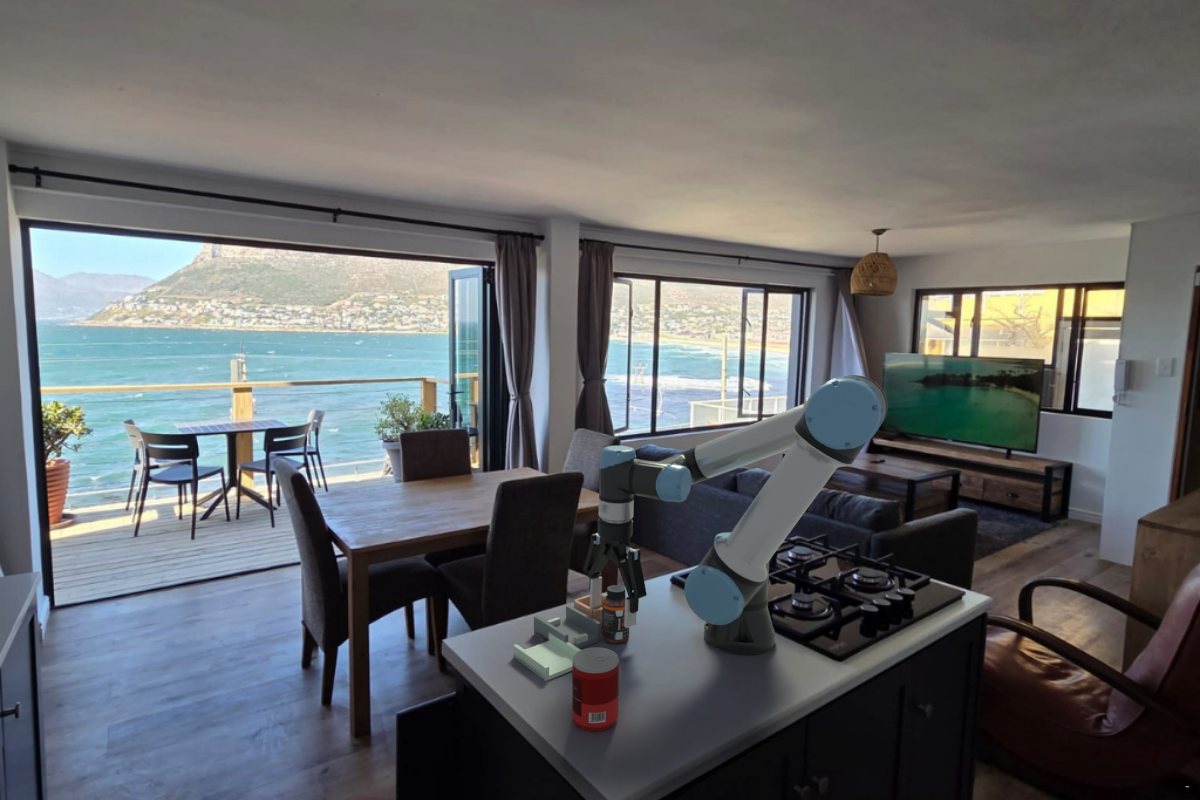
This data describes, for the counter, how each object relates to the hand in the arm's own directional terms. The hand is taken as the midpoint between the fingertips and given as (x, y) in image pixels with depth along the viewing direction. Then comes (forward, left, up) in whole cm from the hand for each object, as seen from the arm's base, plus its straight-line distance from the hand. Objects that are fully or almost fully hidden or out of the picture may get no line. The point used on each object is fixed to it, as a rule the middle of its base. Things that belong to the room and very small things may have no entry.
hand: (612, 615), depth 138 cm
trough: (0, +17, -5) cm, 18 cm away
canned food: (-21, +22, -5) cm, 31 cm away
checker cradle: (+6, +8, -5) cm, 11 cm away
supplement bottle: (-1, 0, -5) cm, 5 cm away
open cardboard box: (+8, -2, -5) cm, 9 cm away
